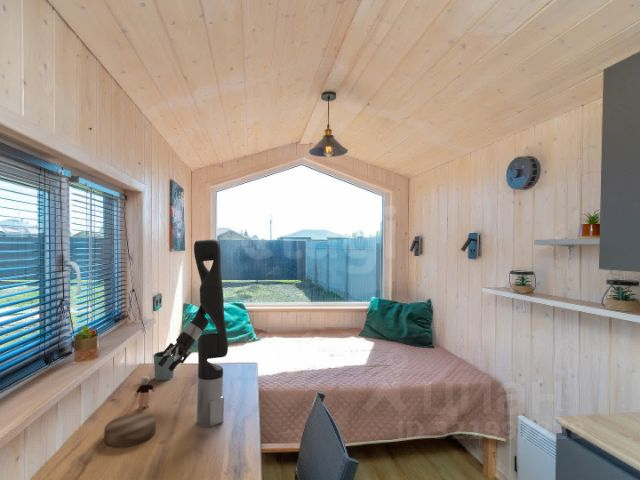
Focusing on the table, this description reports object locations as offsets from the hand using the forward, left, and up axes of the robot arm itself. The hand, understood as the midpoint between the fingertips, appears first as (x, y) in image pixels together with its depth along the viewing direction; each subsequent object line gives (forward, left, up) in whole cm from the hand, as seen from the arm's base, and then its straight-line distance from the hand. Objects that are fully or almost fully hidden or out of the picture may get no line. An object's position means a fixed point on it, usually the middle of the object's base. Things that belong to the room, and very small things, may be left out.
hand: (164, 367), depth 158 cm
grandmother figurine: (0, +8, -14) cm, 16 cm away
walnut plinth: (-18, +22, -14) cm, 32 cm away
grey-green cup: (+25, -14, -14) cm, 32 cm away
